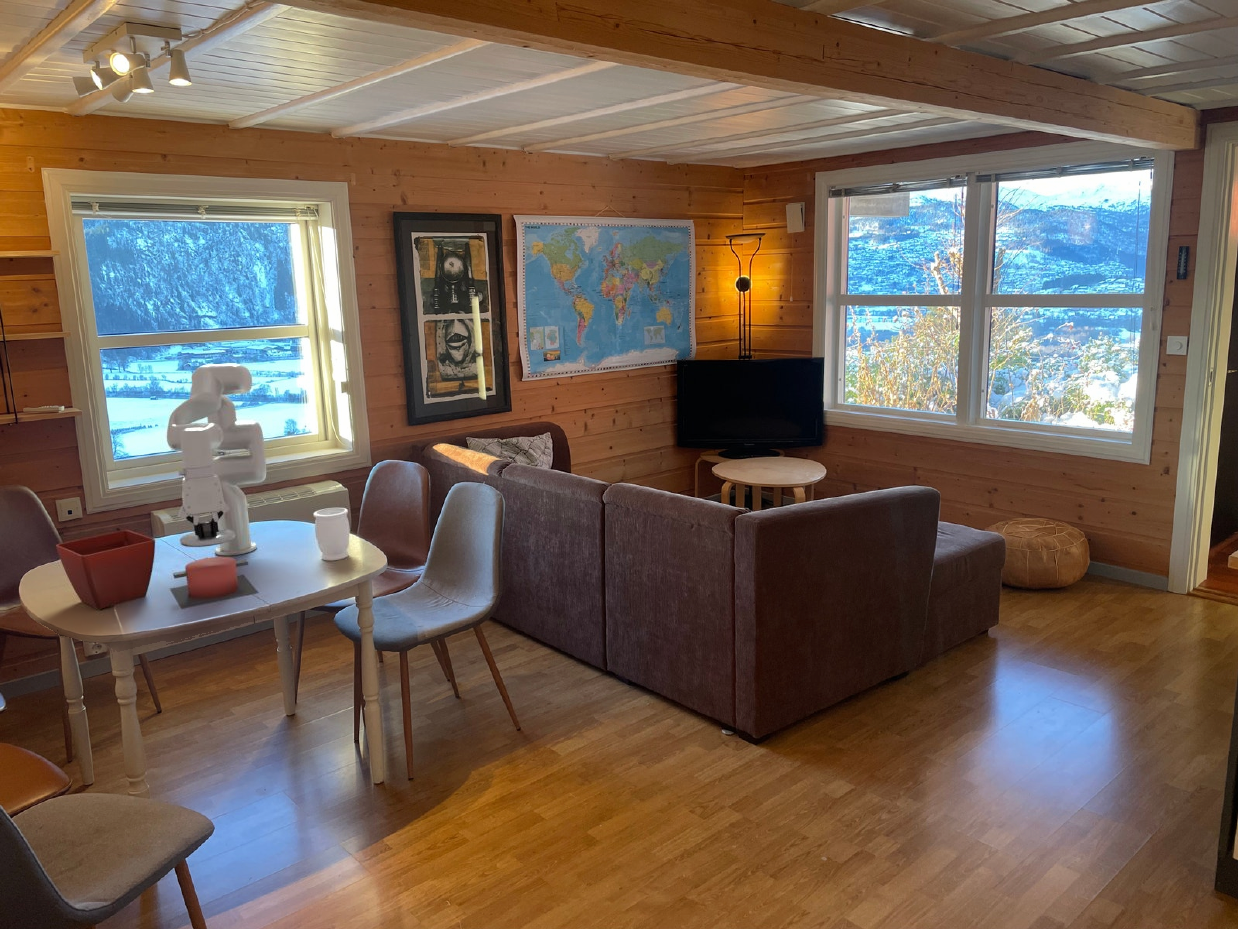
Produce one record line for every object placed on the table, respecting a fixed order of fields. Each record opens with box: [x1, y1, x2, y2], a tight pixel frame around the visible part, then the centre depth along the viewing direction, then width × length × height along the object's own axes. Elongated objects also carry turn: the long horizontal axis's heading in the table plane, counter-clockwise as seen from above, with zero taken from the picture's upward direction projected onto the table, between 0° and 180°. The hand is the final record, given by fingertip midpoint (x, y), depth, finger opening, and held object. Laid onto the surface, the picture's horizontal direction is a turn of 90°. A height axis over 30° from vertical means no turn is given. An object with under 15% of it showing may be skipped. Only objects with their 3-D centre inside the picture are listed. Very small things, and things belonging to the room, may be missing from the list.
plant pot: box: [55, 529, 156, 610], centre depth 252 cm, size 19×19×17 cm
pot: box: [172, 556, 249, 599], centre depth 256 cm, size 13×19×8 cm
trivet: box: [169, 574, 259, 610], centre depth 257 cm, size 20×20×1 cm
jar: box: [313, 507, 351, 561], centre depth 286 cm, size 11×10×15 cm
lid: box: [179, 520, 235, 548], centre depth 253 cm, size 14×14×5 cm
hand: (207, 535), depth 253 cm, fingers closed on lid, 3 cm apart
